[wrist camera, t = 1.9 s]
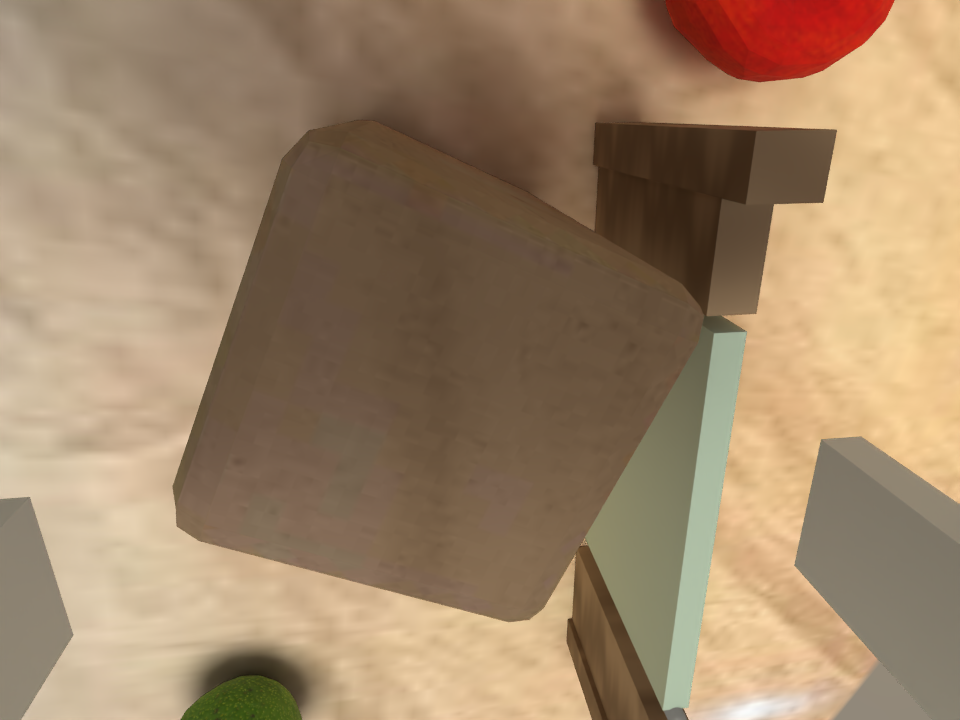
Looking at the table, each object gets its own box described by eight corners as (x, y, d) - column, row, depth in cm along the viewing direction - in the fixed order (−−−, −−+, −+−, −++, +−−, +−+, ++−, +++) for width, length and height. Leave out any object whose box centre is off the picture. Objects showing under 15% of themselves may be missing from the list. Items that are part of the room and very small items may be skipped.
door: (601, 256, 33) (719, 337, 21) (623, 255, 33) (753, 335, 21) (583, 545, 40) (664, 729, 28) (601, 543, 40) (690, 726, 28)
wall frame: (595, 122, 31) (756, 130, 17) (641, 122, 31) (836, 129, 18) (566, 641, 44) (647, 888, 30) (600, 638, 44) (695, 880, 30)
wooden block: (540, 197, 32) (738, 312, 14) (462, 365, 35) (539, 647, 17) (354, 111, 30) (291, 108, 11) (286, 300, 32) (145, 547, 14)
